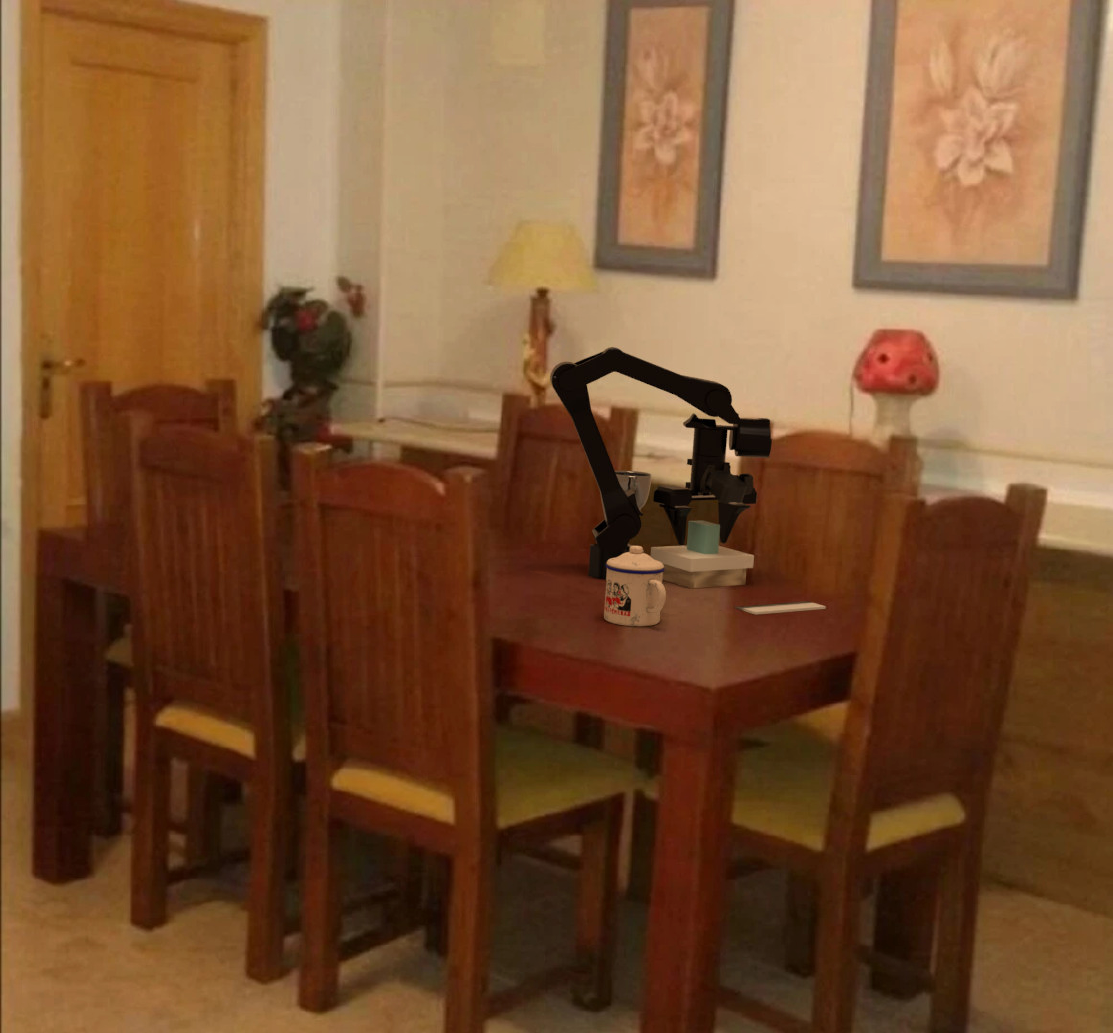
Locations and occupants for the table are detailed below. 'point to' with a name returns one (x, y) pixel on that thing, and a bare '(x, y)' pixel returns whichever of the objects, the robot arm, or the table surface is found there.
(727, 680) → the table surface
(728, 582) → the box
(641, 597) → the teacup with lid
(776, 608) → the mat
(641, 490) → the wine glass
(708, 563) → the lid
